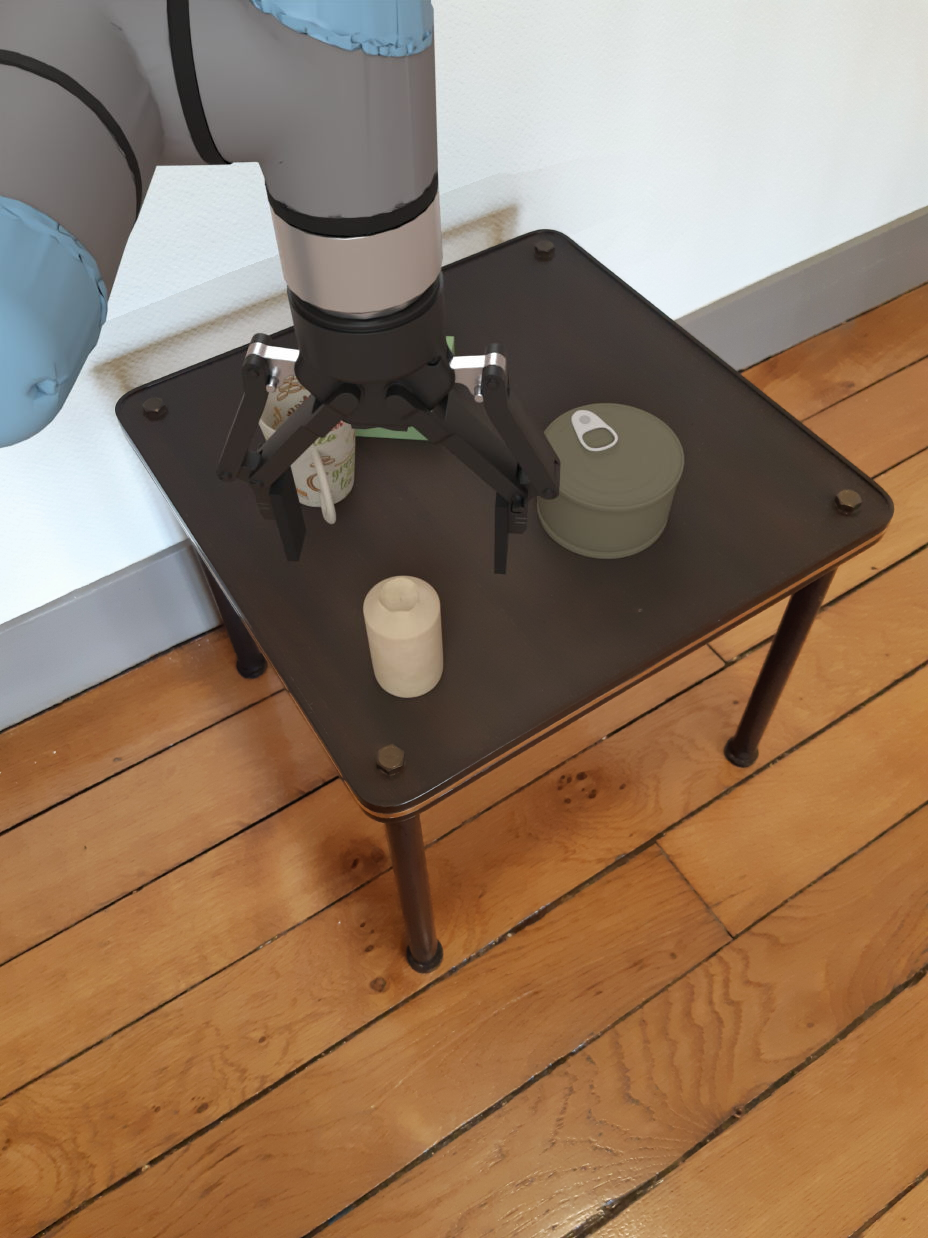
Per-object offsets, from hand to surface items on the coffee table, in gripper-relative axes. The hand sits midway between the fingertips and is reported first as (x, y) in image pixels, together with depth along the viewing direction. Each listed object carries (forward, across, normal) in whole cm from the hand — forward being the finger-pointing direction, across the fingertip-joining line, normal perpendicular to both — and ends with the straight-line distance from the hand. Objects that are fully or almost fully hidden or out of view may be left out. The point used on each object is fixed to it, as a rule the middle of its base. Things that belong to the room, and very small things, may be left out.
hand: (398, 551), depth 62 cm
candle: (+15, 0, 0) cm, 15 cm away
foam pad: (+15, +6, -31) cm, 35 cm away
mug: (+15, +10, -17) cm, 25 cm away
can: (+15, -15, -18) cm, 28 cm away
